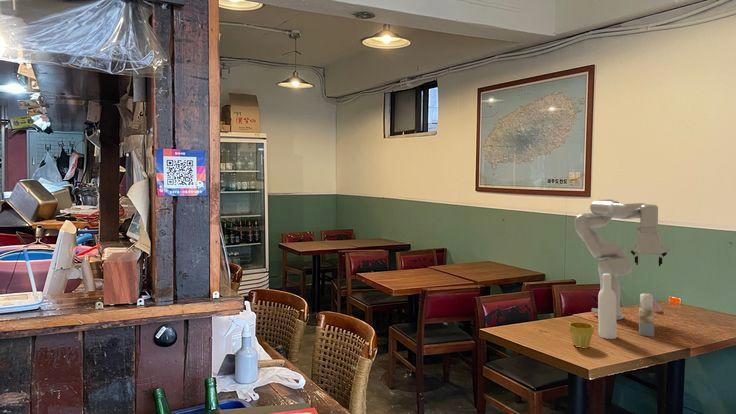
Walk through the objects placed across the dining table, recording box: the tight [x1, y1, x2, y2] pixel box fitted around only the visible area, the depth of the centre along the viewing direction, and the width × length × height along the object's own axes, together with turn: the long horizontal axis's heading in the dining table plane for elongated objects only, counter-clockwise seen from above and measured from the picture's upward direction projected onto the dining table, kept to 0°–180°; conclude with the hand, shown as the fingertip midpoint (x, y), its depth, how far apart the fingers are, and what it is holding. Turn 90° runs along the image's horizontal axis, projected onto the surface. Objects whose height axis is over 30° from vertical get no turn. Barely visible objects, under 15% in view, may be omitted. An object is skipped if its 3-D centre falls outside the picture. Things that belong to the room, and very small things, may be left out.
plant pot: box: [568, 321, 595, 347], centre depth 228 cm, size 10×10×10 cm
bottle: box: [597, 274, 618, 340], centre depth 240 cm, size 8×8×30 cm
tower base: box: [638, 321, 655, 337], centre depth 242 cm, size 6×6×6 cm
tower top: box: [638, 306, 655, 325], centre depth 242 cm, size 6×6×6 cm
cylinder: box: [639, 292, 654, 311], centre depth 242 cm, size 5×5×7 cm
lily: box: [648, 292, 663, 313], centre depth 281 cm, size 12×12×10 cm
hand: (648, 264), depth 246 cm, fingers open, 9 cm apart
